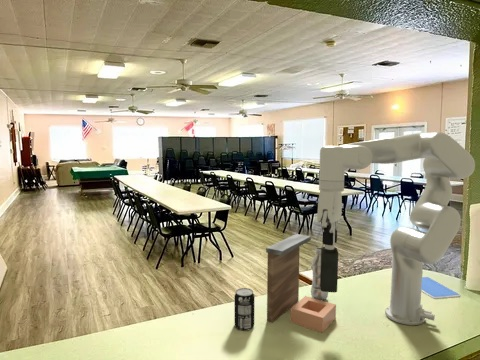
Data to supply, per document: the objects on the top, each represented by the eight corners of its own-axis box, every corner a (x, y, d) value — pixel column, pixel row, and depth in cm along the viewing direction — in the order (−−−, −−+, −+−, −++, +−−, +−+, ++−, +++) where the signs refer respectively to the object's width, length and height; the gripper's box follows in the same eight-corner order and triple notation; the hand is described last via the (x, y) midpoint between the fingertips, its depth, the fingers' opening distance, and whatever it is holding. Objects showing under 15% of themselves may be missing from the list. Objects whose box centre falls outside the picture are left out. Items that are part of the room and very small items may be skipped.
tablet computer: (461, 298, 140) (462, 294, 140) (433, 300, 138) (434, 297, 138) (427, 279, 159) (428, 276, 159) (402, 281, 157) (402, 278, 156)
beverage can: (244, 319, 122) (244, 285, 121) (258, 326, 117) (258, 291, 116) (230, 326, 117) (230, 291, 116) (244, 333, 113) (244, 297, 111)
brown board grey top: (309, 303, 134) (310, 236, 131) (281, 328, 116) (282, 251, 113) (294, 299, 137) (296, 233, 134) (265, 322, 119) (266, 247, 117)
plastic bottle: (321, 304, 133) (322, 252, 131) (307, 298, 138) (308, 248, 136) (331, 299, 137) (333, 249, 135) (317, 293, 142) (318, 245, 140)
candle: (337, 292, 111) (340, 214, 108) (320, 291, 111) (322, 213, 109) (335, 286, 116) (338, 211, 113) (319, 285, 116) (321, 210, 114)
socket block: (335, 318, 123) (336, 304, 122) (322, 332, 113) (323, 317, 113) (305, 309, 129) (305, 296, 129) (290, 322, 120) (290, 308, 119)
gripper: (328, 182, 119) (327, 235, 121) (310, 187, 105) (308, 247, 107) (351, 183, 115) (349, 239, 117) (334, 189, 101) (332, 252, 103)
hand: (329, 242), depth 112 cm, fingers closed on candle, 3 cm apart
